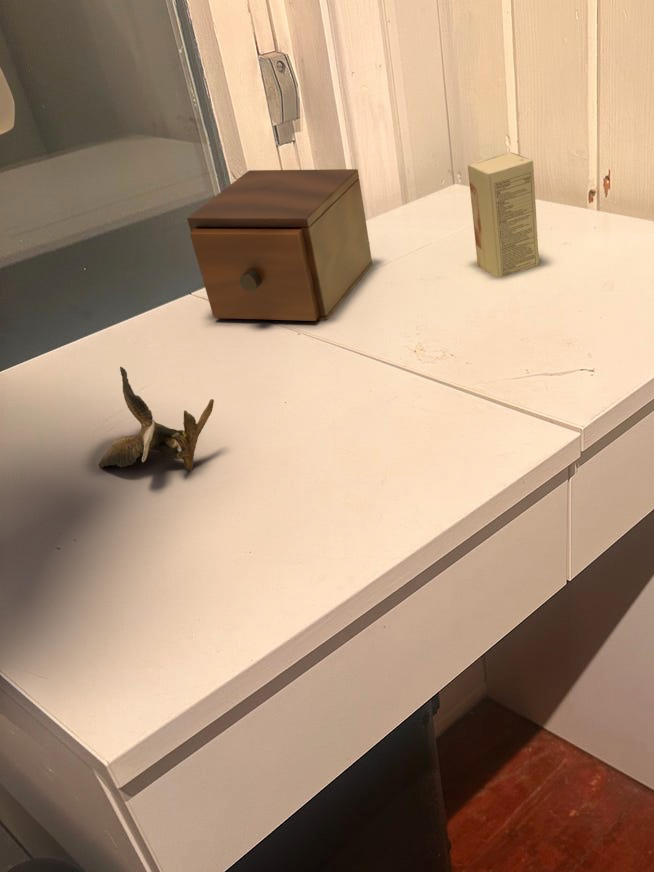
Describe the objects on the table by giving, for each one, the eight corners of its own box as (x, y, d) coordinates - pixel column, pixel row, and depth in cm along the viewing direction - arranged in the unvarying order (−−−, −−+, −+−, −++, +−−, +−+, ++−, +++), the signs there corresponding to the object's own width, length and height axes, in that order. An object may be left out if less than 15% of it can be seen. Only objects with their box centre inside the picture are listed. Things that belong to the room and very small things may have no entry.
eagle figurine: (238, 424, 70) (143, 388, 72) (195, 379, 63) (92, 340, 66) (193, 511, 69) (98, 472, 71) (145, 475, 62) (41, 432, 64)
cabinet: (327, 325, 85) (306, 218, 79) (215, 321, 88) (186, 218, 81) (373, 268, 95) (358, 168, 88) (271, 266, 97) (248, 170, 91)
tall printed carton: (517, 256, 94) (512, 150, 87) (540, 269, 91) (537, 159, 84) (473, 270, 92) (465, 162, 86) (496, 283, 90) (489, 172, 83)
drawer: (310, 326, 83) (292, 239, 78) (207, 323, 86) (183, 238, 80) (359, 268, 93) (345, 186, 87) (265, 266, 95) (247, 187, 90)
